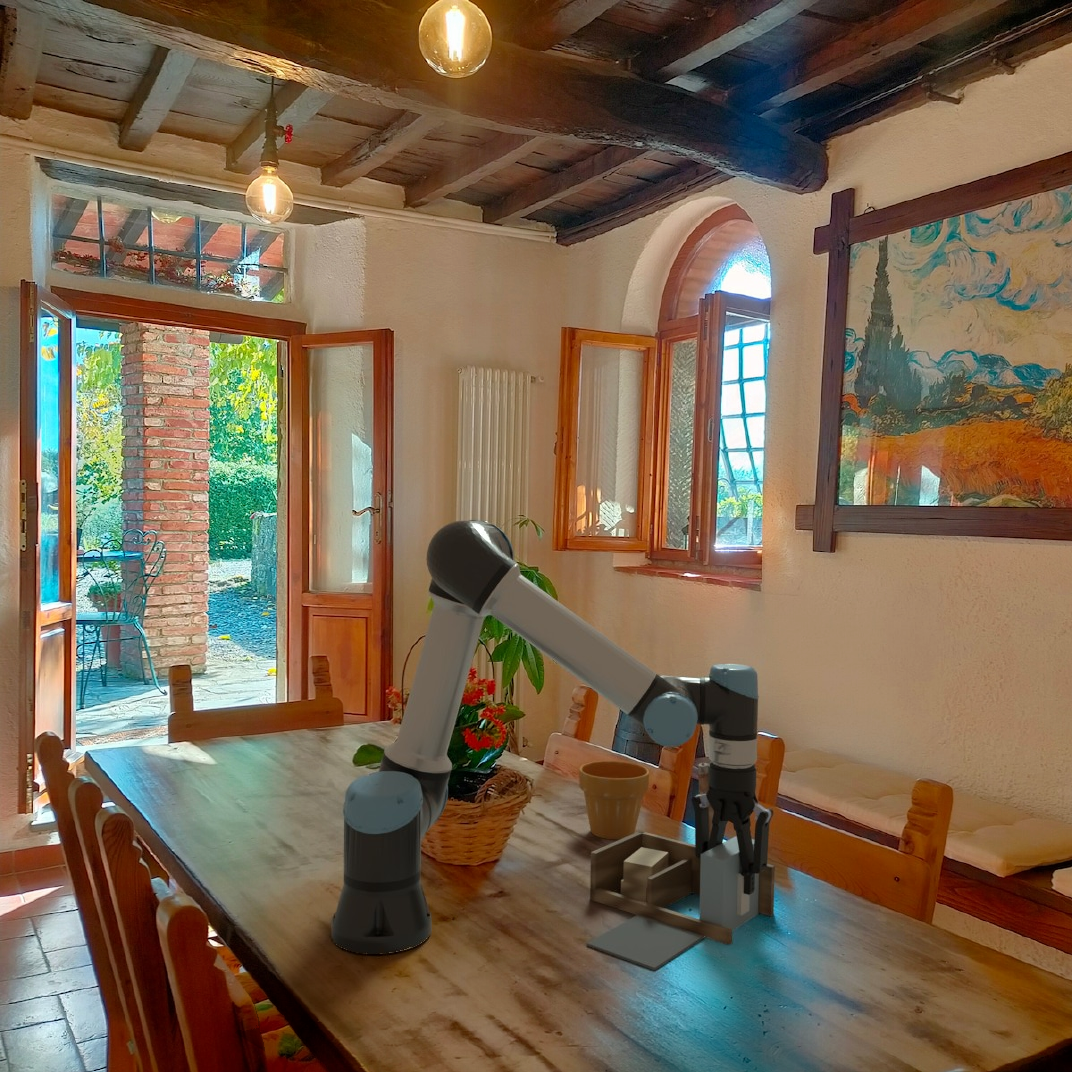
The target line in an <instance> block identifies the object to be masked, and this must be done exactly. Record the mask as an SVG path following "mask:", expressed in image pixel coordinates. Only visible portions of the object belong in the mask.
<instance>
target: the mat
mask: <svg viewBox="0 0 1072 1072" xmlns="http://www.w3.org/2000/svg"><path fill="white" fill-rule="evenodd" d="M704 939H705V937H704V936H703V935H700V934H697V933H694V932H691V931H688V930H685V929H682V928H679V927H676V926H672V925H669V924H666V923H663V922H660V921H657V920H654V919H651V918H648V917H645V916H642V915H639V914H638V915H636V914H635V916H633V917H631V918H629V919H628V920H625V921H624V922H622V923H620V924H618V925H617V926H615V927H613V928H611V929H609V930H608V931H606V932H604V933H602V934H600V935H599V936H596V937H595V938H593V939H591V940H589V941H587V942H586V947H588V948H591V947H594V948H596V949H595V950H597V949H598V950H597V951H600V952H602V951H603V952H602V953H605V954H608V955H611V956H613V955H614V957H616V958H619V959H621V960H624V961H627V962H630V963H632V964H636V965H639V966H641V967H644V968H646V969H649V970H652V971H656V970H658V969H659V968H661V967H663V966H664V965H666V964H667V963H668V962H670V961H672V960H673V959H675V958H677V957H678V956H679V955H681V954H682V953H684V952H685V951H687V950H689V949H691V948H692V947H693V946H695V945H696V944H698V943H699V942H700V941H702V940H704ZM594 948H593V949H594Z"/></svg>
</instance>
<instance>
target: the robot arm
mask: <svg viewBox="0 0 1072 1072" xmlns="http://www.w3.org/2000/svg"><path fill="white" fill-rule="evenodd" d="M425 558H426V565H427V570H428V572H429V574H430V576H431V580H430V584H429V588H428V591H427V592H428V595H429V596H430V598H431V600H432V602H433V608H432V610H431V611H432V612H431V615H430V619H429V622H428V624H427V625H428V627H427V629H426V633H425V636H424V640H423V644H422V648H421V651H420V656H419V658H418V662H417V665H416V669H415V673H414V677H413V680H412V684H411V687H410V690H409V695H408V699H407V702H406V705H405V708H404V712H403V716H402V720H401V724H400V727H399V731H398V734H397V739H396V740H395V741H394V742H392V743H391V744H389V745H387V746H386V747H385V748H384V751H383V753H382V758H381V761H380V765H379V770H378V771H376V772H371V773H369V774H368V775H362V776H360V777H358V778H355V779H354V780H353V781H352V782H350V784H349V786H347V789H346V791H345V794H344V802H343V809H342V814H343V883H342V884H343V885H342V888H341V893H340V896H339V899H338V902H337V907H336V910H335V912H334V914H333V917H332V919H331V924H330V925H331V927H330V929H331V930H330V931H331V932H330V933H331V934H330V938H331V940H332V939H333V941H334V942H335V943H336V944H337V945H338V946H340V947H342V948H345V949H347V950H349V951H348V952H350V951H353V952H358V953H357V954H359V953H365V954H364V955H367V954H380V953H389V952H396V951H400V950H404V949H407V948H409V947H414V946H416V945H418V944H420V943H421V942H423V941H424V940H426V938H428V937H429V935H430V933H431V934H432V914H431V911H430V909H429V907H428V906H429V905H428V903H427V898H426V895H425V892H424V889H423V887H422V883H421V882H422V881H421V872H422V871H421V869H422V866H421V864H422V859H421V858H422V857H421V856H422V839H423V838H424V837H425V836H426V834H427V832H428V831H429V830H430V829H431V827H432V826H434V824H436V822H438V821H439V819H440V817H441V815H442V814H443V812H444V811H445V809H446V806H447V802H448V795H449V786H448V784H449V779H450V776H451V772H452V768H453V763H452V762H451V760H450V758H449V757H448V749H449V747H450V742H451V738H452V737H453V736H452V735H453V731H454V728H455V725H456V724H455V723H456V721H457V717H458V713H459V709H460V706H461V703H462V700H463V696H464V692H465V690H466V686H467V681H468V677H469V674H470V670H471V667H472V664H473V659H474V656H475V653H476V649H477V645H478V641H479V639H480V636H481V631H482V628H483V625H484V620H485V618H486V617H487V616H492V617H493V618H494V619H496V620H497V621H499V622H500V623H501V624H503V625H504V626H505V627H507V628H508V629H509V630H511V631H513V633H515V634H517V635H518V636H519V637H521V638H522V639H524V640H525V641H526V642H528V643H529V644H530V645H531V646H533V647H534V648H536V649H537V650H538V651H540V652H541V653H542V654H544V655H545V656H547V657H548V658H550V660H552V661H554V662H555V663H556V664H557V665H559V666H560V667H562V668H563V669H565V670H566V671H567V672H568V673H570V674H571V675H572V676H574V677H575V678H576V679H578V680H579V681H581V682H582V683H583V684H585V685H586V686H588V688H590V689H592V690H593V691H595V692H596V693H597V694H598V695H599V696H601V697H602V698H604V699H605V700H607V701H608V702H609V703H611V704H612V705H614V706H615V707H616V708H617V709H619V710H620V711H622V712H623V713H624V714H625V715H627V716H628V717H629V718H630V719H632V720H633V721H635V722H636V723H637V724H639V725H640V726H641V727H643V729H644V730H645V732H646V734H648V736H649V738H650V739H651V740H652V741H654V742H655V743H656V744H658V745H660V746H662V747H667V748H673V747H674V748H675V747H679V746H682V745H684V744H686V743H687V742H688V741H689V740H690V739H692V737H693V735H694V733H695V731H696V728H697V725H701V726H702V725H706V726H707V725H708V726H709V730H708V732H709V733H708V760H710V762H709V763H708V764H709V765H708V784H709V789H708V791H707V793H706V794H699V795H698V794H696V795H695V796H692V797H691V800H690V801H691V804H692V807H693V810H694V839H695V841H694V845H695V854H696V857H697V858H701V854H702V853H704V852H706V851H708V850H710V849H712V848H714V847H716V846H718V845H720V844H722V843H724V838H725V837H724V836H725V833H726V827H727V824H728V822H730V823H732V826H733V830H734V831H735V834H736V835H735V836H737V841H738V847H739V853H740V860H741V866H742V871H741V872H740V873H738V885H737V915H739V916H742V915H744V914H745V913H747V912H748V911H749V898H750V894H752V893H753V892H754V890H755V873H756V874H758V873H760V872H762V871H763V870H765V869H766V868H767V864H768V857H769V856H768V855H769V854H768V853H769V839H770V838H769V837H770V835H769V834H770V823H771V820H772V819H773V816H774V810H773V809H772V808H765V807H764V806H762V805H761V804H760V803H759V801H758V798H757V796H756V789H757V769H758V768H757V767H756V765H755V764H756V762H757V761H758V719H759V718H758V714H759V712H758V710H759V709H758V708H759V686H758V685H759V683H758V672H757V671H756V670H755V668H753V667H752V666H749V665H746V664H740V663H718V664H714V665H712V666H711V667H710V669H709V670H710V671H709V674H708V676H704V677H703V676H700V677H698V676H678V675H660V674H658V673H656V672H655V671H654V670H652V669H651V668H650V667H648V666H647V665H646V664H644V663H643V662H641V661H640V660H638V659H637V658H636V657H634V656H633V655H632V654H630V653H629V652H628V651H626V650H625V649H623V648H622V647H621V646H619V645H618V644H617V643H615V642H614V641H613V640H611V639H610V638H608V637H607V636H606V635H605V634H603V633H602V632H600V631H599V630H597V629H596V628H595V627H593V625H591V624H589V622H587V621H585V620H584V619H582V618H581V617H580V616H579V615H577V614H575V613H574V612H573V611H571V610H570V609H569V608H568V607H566V606H564V605H563V604H562V603H561V602H559V601H558V600H556V599H555V598H554V597H552V596H551V595H550V594H548V593H547V592H546V591H544V590H543V589H542V588H540V587H539V586H538V585H536V584H535V583H533V582H532V581H531V580H529V579H528V578H527V577H525V576H524V575H522V573H521V570H520V569H521V568H520V564H518V562H516V561H515V560H514V549H513V545H512V542H511V540H510V539H509V537H508V536H507V534H506V533H505V532H504V531H503V530H502V529H500V527H499V526H496V525H495V524H494V523H490V522H488V521H486V520H480V519H470V520H457V521H453V522H450V523H448V524H446V525H444V526H443V527H441V528H439V529H438V530H437V532H436V533H434V535H433V536H432V538H431V540H430V541H429V544H428V546H427V550H426V557H425ZM709 803H710V805H711V807H712V809H713V811H714V814H713V819H712V824H713V825H712V830H711V835H710V839H709V809H708V806H709ZM753 813H754V820H755V827H754V850H753V844H752V839H753V838H752V833H751V826H752V825H751V823H752V822H751V815H752V814H753ZM430 936H431V935H430ZM429 938H430V937H429ZM429 938H428V939H429ZM333 941H332V942H333ZM426 941H427V940H426ZM334 942H333V943H334ZM335 943H334V944H335ZM336 944H335V945H336ZM337 945H336V946H337ZM338 946H337V947H338ZM340 947H339V948H340ZM342 948H341V949H342ZM347 950H346V951H347ZM353 952H352V953H353ZM366 953H367V954H366Z"/></svg>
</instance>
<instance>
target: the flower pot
mask: <svg viewBox="0 0 1072 1072" xmlns="http://www.w3.org/2000/svg"><path fill="white" fill-rule="evenodd" d="M578 770H579V771H578V772H579V773H578V775H579V776H578V777H579V781H578V783H579V788H580V789H581V790H582V791H583V796H584V800H585V806H586V812H587V818H588V824H589V829H590V832H591V834H592V835H593V836H596V837H598V838H602V839H605V838H606V839H607V840H620V839H623V838H625V837H627V836H629V835H632V834H634V833H636V828H637V824H638V819H639V816H640V811H641V808H642V802H643V799H644V795H645V794H646V793H648V791H649V785H650V770H649V769H648V768H647V767H645V766H643V765H641V764H638V763H633V762H628V761H621V760H620V761H619V760H599V761H598V760H597V761H592V762H587V763H585V764H582V765H581V766H580V767H579V769H578Z"/></svg>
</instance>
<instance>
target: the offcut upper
mask: <svg viewBox="0 0 1072 1072" xmlns="http://www.w3.org/2000/svg"><path fill="white" fill-rule="evenodd" d="M668 855H669V852H664V851H659V850H653V849H648V848H643V847H641V848H640V849H639V850H637V851H636V852H635V853H634V854H632V855H631V856H630V857H628V858H627V859H626V860H625V861H624V873H623V882H626V883H630V884H635V885H640V886H645V887H647V878H649V877H651V876H653V875H655V874H657V873H659V872H661V871H662V870H664V869H666V868H668Z"/></svg>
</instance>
